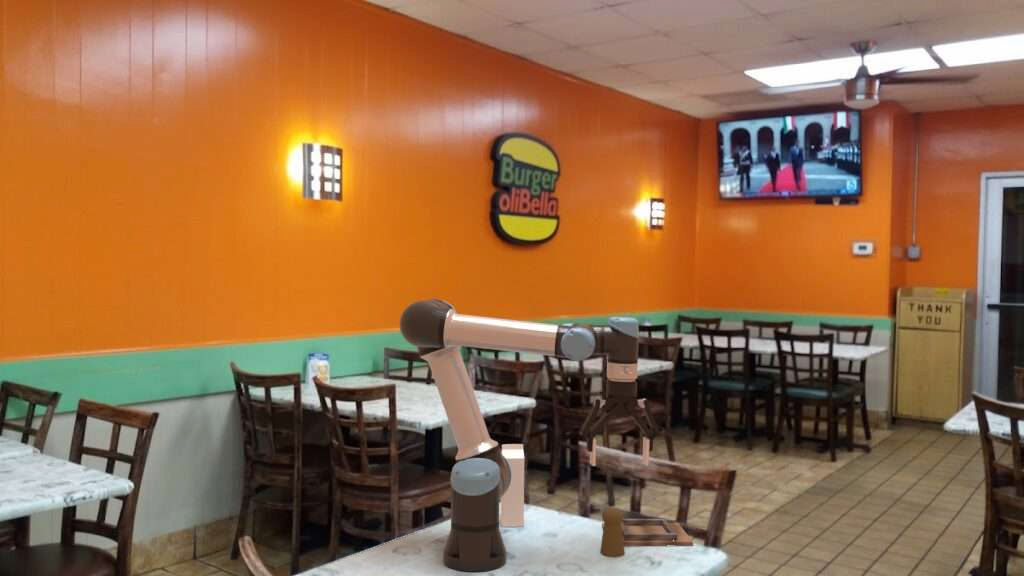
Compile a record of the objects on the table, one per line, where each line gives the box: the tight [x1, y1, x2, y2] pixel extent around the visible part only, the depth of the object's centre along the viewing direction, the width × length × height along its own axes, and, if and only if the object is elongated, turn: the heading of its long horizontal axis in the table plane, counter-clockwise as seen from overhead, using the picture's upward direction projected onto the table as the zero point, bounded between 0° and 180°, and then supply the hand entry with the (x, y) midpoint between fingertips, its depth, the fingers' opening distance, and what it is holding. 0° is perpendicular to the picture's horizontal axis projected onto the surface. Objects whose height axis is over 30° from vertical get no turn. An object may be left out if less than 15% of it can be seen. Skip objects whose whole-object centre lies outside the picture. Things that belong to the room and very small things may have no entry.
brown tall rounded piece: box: [599, 507, 625, 558], centre depth 203 cm, size 6×6×11 cm
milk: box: [500, 443, 525, 528], centre depth 226 cm, size 6×6×22 cm
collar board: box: [601, 518, 694, 547], centre depth 217 cm, size 21×16×2 cm
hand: (619, 464), depth 204 cm, fingers open, 13 cm apart
